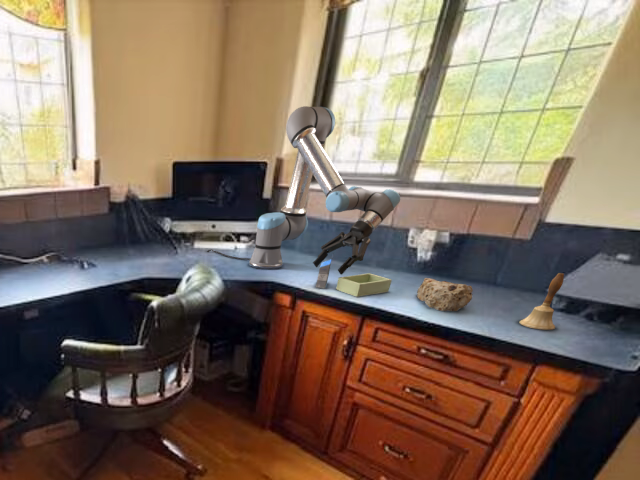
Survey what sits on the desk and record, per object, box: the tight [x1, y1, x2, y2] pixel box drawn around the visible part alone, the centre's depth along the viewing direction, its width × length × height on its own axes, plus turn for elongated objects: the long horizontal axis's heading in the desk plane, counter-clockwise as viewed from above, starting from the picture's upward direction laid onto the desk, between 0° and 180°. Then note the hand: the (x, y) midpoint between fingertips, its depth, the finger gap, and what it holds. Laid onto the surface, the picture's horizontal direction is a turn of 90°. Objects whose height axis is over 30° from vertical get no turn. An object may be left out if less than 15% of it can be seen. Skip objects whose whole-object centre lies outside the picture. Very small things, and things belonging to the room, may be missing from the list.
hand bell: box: [519, 272, 565, 331], centre depth 125 cm, size 8×8×16 cm
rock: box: [416, 277, 474, 312], centre depth 147 cm, size 21×14×10 cm
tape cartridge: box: [315, 252, 335, 290], centre depth 169 cm, size 9×4×12 cm, turn 154°
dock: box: [335, 273, 392, 298], centre depth 163 cm, size 11×16×5 cm
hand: (326, 268), depth 169 cm, fingers open, 13 cm apart
